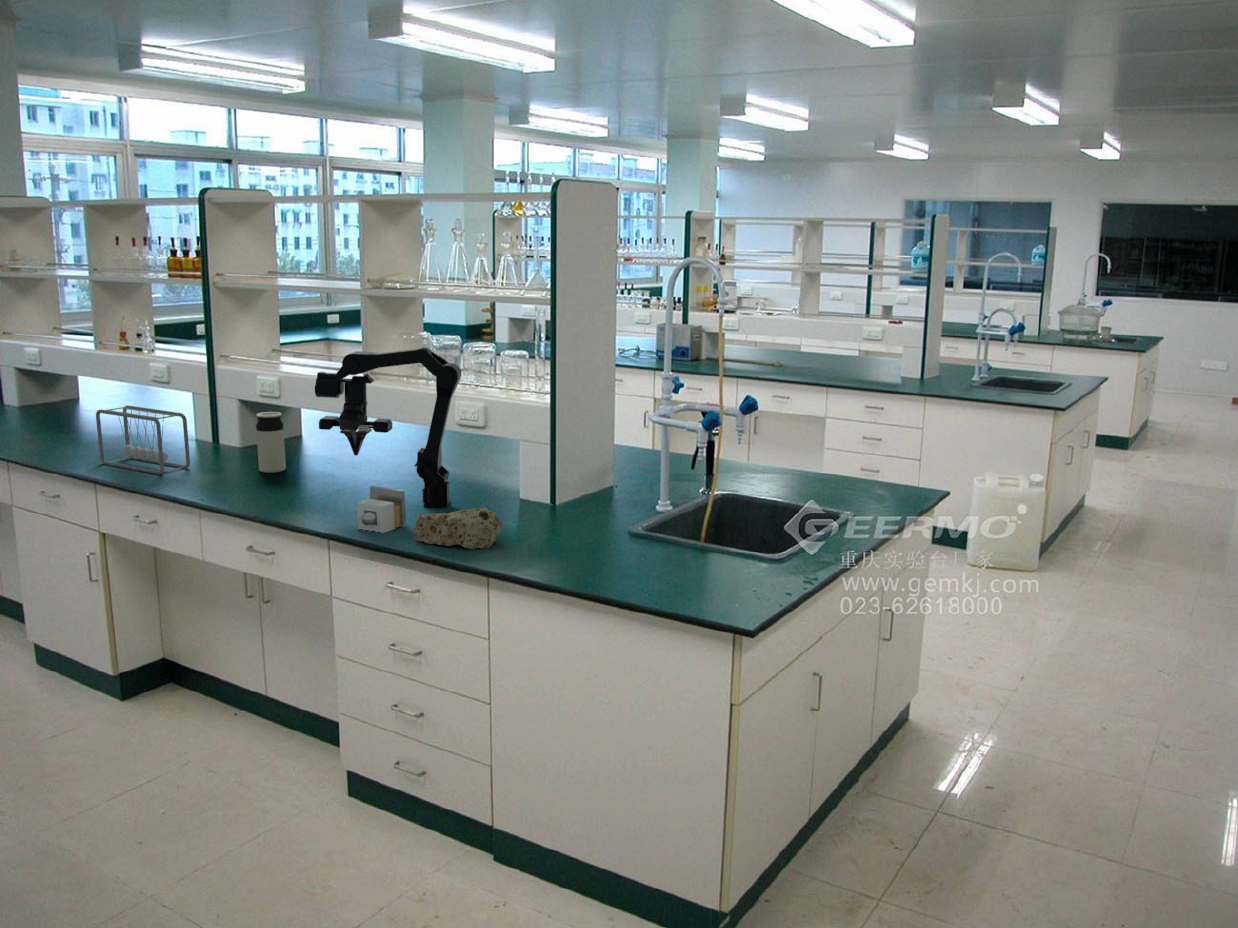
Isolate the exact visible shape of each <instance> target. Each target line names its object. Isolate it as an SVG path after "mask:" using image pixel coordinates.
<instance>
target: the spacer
mask: <svg viewBox="0 0 1238 928" xmlns="http://www.w3.org/2000/svg"><path fill="white" fill-rule="evenodd" d="M394 517H395V529H398V528H399V527H402V525H401V505H400V504H394Z"/></svg>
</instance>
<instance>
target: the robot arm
mask: <svg viewBox="0 0 1238 928" xmlns="http://www.w3.org/2000/svg"><path fill="white" fill-rule="evenodd" d="M341 364H342V365H341V367H340V368H339V369H338V370H337V371H336V372H326V371H325V372H324V371H318V372H317V373H316V380H315V385H314V395H315V397H316V398H329V399H331V398H332V399H339V398H340V396H341V395H343V394H344V403H343V409H342V412H341V413H340V415H339V416H335V415H325V416H324V417H322V418H320V419H319V420H318V429H319V430H326V431H327V430H332V428H334V427H338V428H339V432H340V434H344V436H345V437H346V438H347V441H348V443H349V445H350V447H351V450H352V453H353V455H354V456H358V455H359V454H360V451H361V448H362V446H363V442H364V441H365V438H366V436H367V435H368V434H369V433H371V432H372V430H373V431H374V432H375V433H389V432H390V431H392V430H393V421H392V420H391V419H390V418H376V419H375V420H373V421H372V420H371V421H370V420H369V421H368V415H367V413H368V412H367V411H368V410H367V407H368V401H367V384H372V383H373V382H375V379H374V378H373V377H372V376H370V373H367V372H370V371H373V370H376V369H379V368H380V369H381V368H387V367H388V368H389V367H396V366H404V365H405V366H406V365H413V364H420V365H422V366H423V367H424V368H425V369H426V370H427V371H428V372H429V373H431V375H433V376H434V377H435V378H436V379H435V381H436V382H435V387H436V388H435V391H436V398H435V404H434V407H433V408H434V409H433V413H432V419H431V422H430V426H429V432H428V436H427V442H426V445H425V447H421V448H420V449H419V450H418V451H417V455H416V457H417V458H416V459H417V460H416V462H415V464H414V467H416V473H417V475H418V477H420V478H421V480H422V479H423V482H424V487H423V488H422V504H423V507H425V508H427V507H428V508H448V506H449V505H450V504H451V503H452V499H450V481H447V480H448V478H449V476H450V471H449V470H447V468H446V467H444V466H443V465H442V461H443V459H442V458H443V452H442V444H443V439H444V434H445V431H446V425H447V420H448V416H449V413H450V412H449V411H450V407H451V402H452V398H453V396H454V394H455V392H456V390H457V388H458V384H459V383H460V379H461V377H462V369H461V368H460V367H459V366H458V364H456V363H453V362H448V361H447V360H446V359H445V358H443V357H442V356H439V355H438V354H436V353H435V352H433V351H432V350H431V349H430V348H429V347H426V346H423V347H419V348H413V349H406V350H394V351H388V352H371V351H357V350H356V351H353V352H351V353H348V354H346V355H345V356H344V357H343V359H342V362H341ZM363 373H366V374H364V376H363V375H362V376H361V375H360V374H363ZM348 376H352V377H351V378H346V377H348Z"/></svg>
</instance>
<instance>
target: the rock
mask: <svg viewBox="0 0 1238 928" xmlns="http://www.w3.org/2000/svg"><path fill="white" fill-rule="evenodd" d="M502 527H503V522H502V521H501V518H498V516H497V513H496V512H494V511H492V510H489V509H488V508H487V507H484V506H480V507H479V508H476V507H475V508H468V509H461V510H456V511H452V512H449V513H448V512H443V513H442V512H441V513H429V514H421V513H420V514H419V515H418V517H417V521H416V523H415V528H414V532H413V537H414V538H413V539H414V540H415V541H417V540H418V541H421V542H420V543H423V542H424V543H426V544H429V545H434V544H436V545H438V546H439V545H440V546H447V547H449V546H457V545H458V546H459V545H460V546H462V547H463V548H465V549H469V550H477V549H476V548H484V549H489V548H490V547H491V546H493V544H494V543H495V542H496V538H497V536H498V535H499V534H500V532H501V530H502ZM418 541H417V542H418ZM493 542H494V543H493Z"/></svg>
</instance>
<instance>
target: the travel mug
mask: <svg viewBox="0 0 1238 928" xmlns="http://www.w3.org/2000/svg"><path fill="white" fill-rule="evenodd" d="M255 416H256V418H257V422H256V424H255V427H256V428H255V429H256V446H257V447H256V448H257V457H258V458H257V460H258V471H259V472H261V473H263V474H276V473H281V472H283V471H285V470H286V469H287V466H286V450H285V449H286V448H285V434H284V433H285V431H284V422H283V421H282V412H279V411H265V412H258V413H256V415H255Z"/></svg>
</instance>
